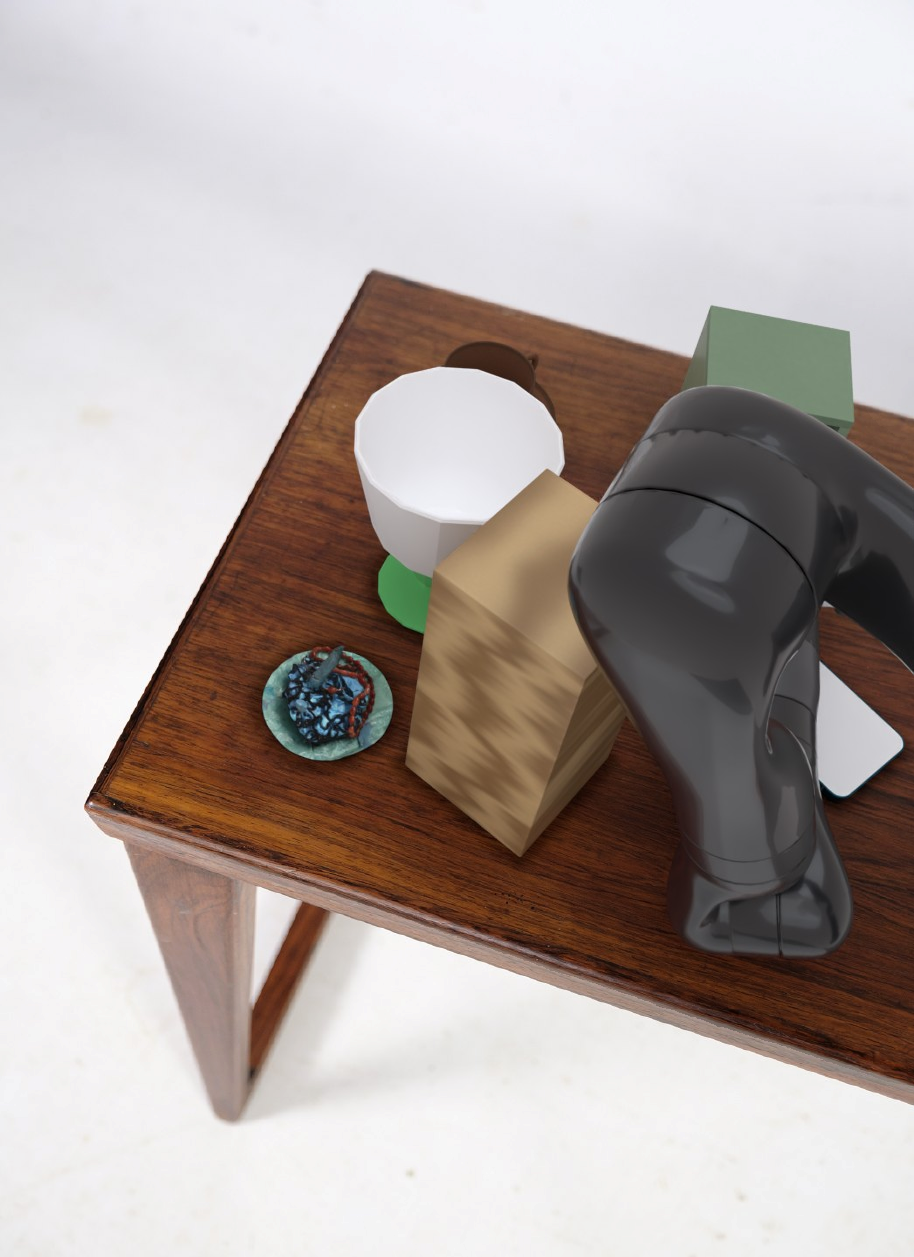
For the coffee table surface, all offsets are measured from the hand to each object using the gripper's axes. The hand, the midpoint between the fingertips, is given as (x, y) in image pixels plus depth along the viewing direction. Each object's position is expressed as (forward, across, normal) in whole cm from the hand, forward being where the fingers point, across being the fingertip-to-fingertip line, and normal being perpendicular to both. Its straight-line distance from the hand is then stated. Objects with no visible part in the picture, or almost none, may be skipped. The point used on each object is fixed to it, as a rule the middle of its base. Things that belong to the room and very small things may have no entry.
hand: (762, 481), depth 89 cm
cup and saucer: (+7, +22, +7) cm, 24 cm away
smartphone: (-14, -4, +7) cm, 16 cm away
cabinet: (+8, 0, +7) cm, 11 cm away
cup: (-10, +22, +8) cm, 26 cm away
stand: (-23, +15, +7) cm, 29 cm away
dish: (-22, +28, +8) cm, 36 cm away
